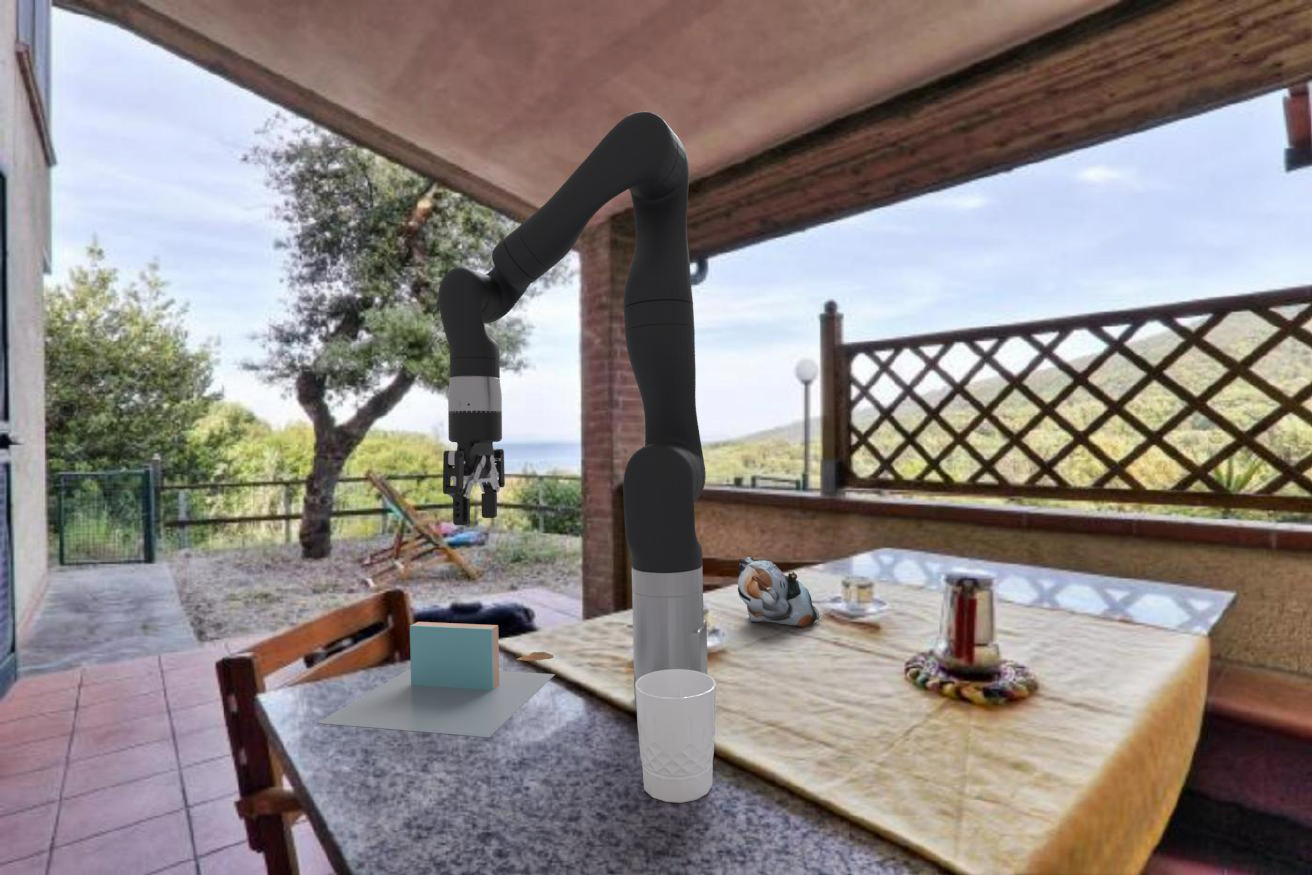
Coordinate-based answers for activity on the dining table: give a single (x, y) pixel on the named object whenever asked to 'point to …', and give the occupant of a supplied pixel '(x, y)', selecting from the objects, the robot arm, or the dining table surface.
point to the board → (440, 706)
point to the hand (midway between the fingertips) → (476, 521)
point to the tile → (454, 655)
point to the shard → (536, 656)
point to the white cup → (676, 733)
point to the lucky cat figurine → (774, 594)
